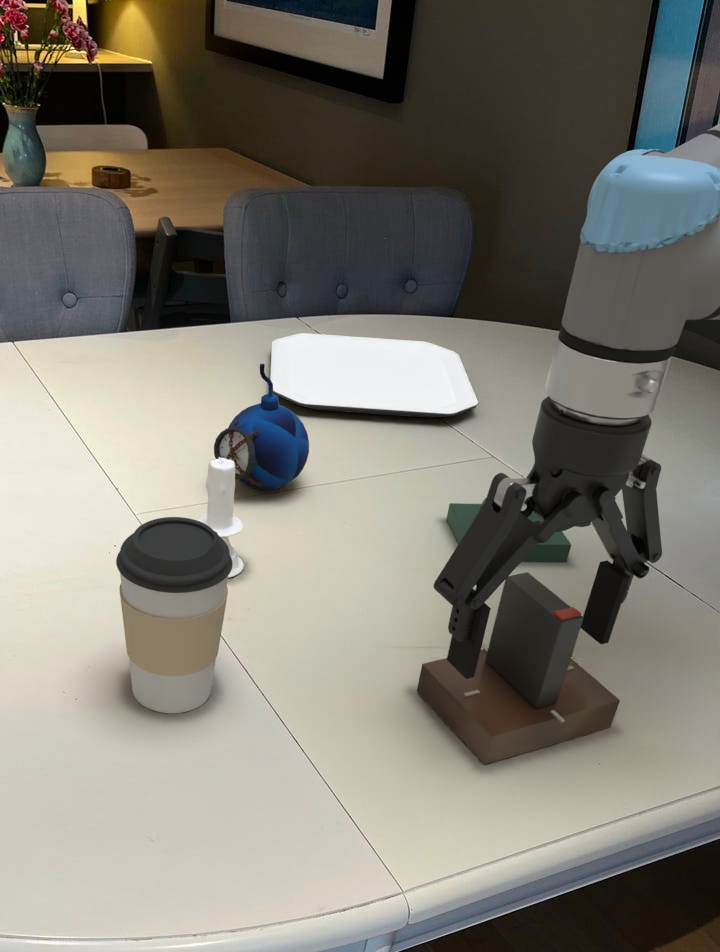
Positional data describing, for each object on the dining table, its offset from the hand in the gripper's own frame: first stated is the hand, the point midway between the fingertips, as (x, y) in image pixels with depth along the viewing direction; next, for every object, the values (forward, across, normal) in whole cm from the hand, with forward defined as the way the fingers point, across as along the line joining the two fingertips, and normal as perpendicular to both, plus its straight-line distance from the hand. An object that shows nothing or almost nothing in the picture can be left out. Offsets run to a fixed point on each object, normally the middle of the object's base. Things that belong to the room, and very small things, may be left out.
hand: (528, 651), depth 81 cm
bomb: (+6, -3, +45) cm, 45 cm away
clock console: (+6, 0, 0) cm, 6 cm away
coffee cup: (+6, -26, +13) cm, 30 cm away
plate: (+6, +26, +70) cm, 75 cm away
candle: (+6, -15, +30) cm, 34 cm away
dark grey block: (+3, 0, 0) cm, 3 cm away
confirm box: (+6, +17, +24) cm, 31 cm away
